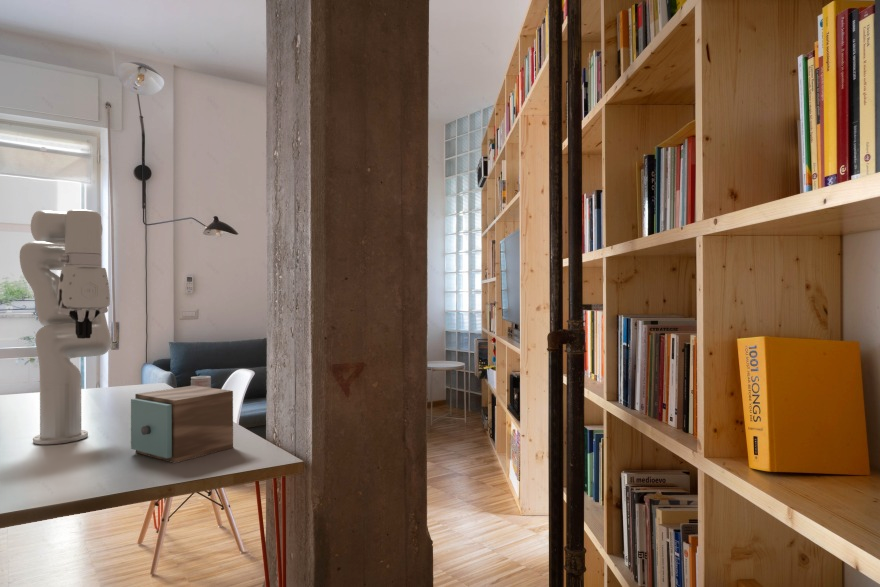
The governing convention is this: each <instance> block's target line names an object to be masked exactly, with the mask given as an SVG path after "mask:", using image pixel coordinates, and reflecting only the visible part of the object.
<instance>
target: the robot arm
mask: <svg viewBox="0 0 880 587" xmlns="http://www.w3.org/2000/svg"><path fill="white" fill-rule="evenodd" d="M30 231H31V235H32V236H31V237H33V239H34V240H35V241H30V242H27V243H25V244H23V245H22V246H21V248H20V249H19V264H20V269H21V272H22V275H23V277H24V279H25V280H26V282H27V284H29V287H30V288H31V290H32V292H33V298H34V304H35V308H36V314H37V318H38V321H39V323H40V324H41V325H42V327H40V328H39V329H38V330H37V331H36V334H35V348H36V351H37V352H36V353H37V357H38V367H39V369H38V370H39V434H38V435H35V436H33V438H32V443H33V444H36V445H57V444H59V445H60V444H65V443H72V442H77V441H81V440H84V439H85V438H87V437H88V436H89V432H88V430H84V429H82V374H81V371H80V369H79V368H78V367H77V366H76V365H75V364H74V363H73V362H72V361H71V359H76V358H89V357H90V358H91V357H92V358H93V357H99V356H103V355H106V354H107V353H108V352H109V351H110V349H111V344H112V343H111V342H112V341H111V340H112V339H111V332H110V330H109V326H108V322H107V317H106V313H108V312H109V309H108V307H110V305H111V304H110V303H111V295H110V284H109V278H108V274H107V269H106V268H105V267H102V266H103V265H102V260H103V259H102V245H103V243H102V235H103V223H102V216H101V214H100V213H99V211H96V210H89V209H70V210H67V211H57V210H54V211H53V210H37V211H35V212H34V213H33V215H32V217H31V219H30ZM53 271H60V274H59V275H57V274H56V273H54V272H53Z"/></svg>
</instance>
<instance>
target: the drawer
mask: <svg viewBox="0 0 880 587" xmlns="http://www.w3.org/2000/svg"><path fill="white" fill-rule="evenodd" d="M130 449H131V450H134V451H136V450H137V451H141V452H145V453H148V454H152V455H156V456H160V457H163V458H171V457H172V405H170V404H165V403H159V402H153V401H148V400H142V399H136V398H132V399H131V398H130Z"/></svg>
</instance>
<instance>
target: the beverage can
mask: <svg viewBox="0 0 880 587" xmlns="http://www.w3.org/2000/svg"><path fill="white" fill-rule="evenodd" d="M190 379H191V380H190V386H193V385H194V386H201V387H208V388H212V377H211V376H210V375H198V376H197V375H196V376H191V377H190Z"/></svg>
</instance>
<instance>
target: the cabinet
mask: <svg viewBox="0 0 880 587" xmlns="http://www.w3.org/2000/svg"><path fill="white" fill-rule="evenodd" d="M135 398H136V399H142V400H148V401H153V402H159V403H165V404H170V405H172V457H171V458H163V457H160V456H156V455H152V454H148V453H145V452H141V451H137V450H135V453H137V454H141V455H144V456H147V455H148V457H150V458H151V457H152V458H156V459H158V460H162V459H163V460H162V461H166V460H167V462H170V461H171V463H173V462H176V463H180V462H183V460H184V461H188V460H191V459H195V457H196V458H200V457H203V456H206V454H207V455H210V454H209V453H211V454H214V453H213V452H215V453H217V451H219V452H221V450H222V451H226V450H230V449H233V448H234V391H233V390H228V389H222V388H213V387H211V388H208V387H201V386H194V385H193V386H191V385H188V386H182V387H175V388H168V389H167V388H165V389H161V390H154V391H145V392H140V393H139V392H138V393H135ZM135 398H134V399H135ZM225 449H226V450H225ZM202 455H203V456H202ZM187 459H188V460H187ZM179 461H180V462H179Z"/></svg>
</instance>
